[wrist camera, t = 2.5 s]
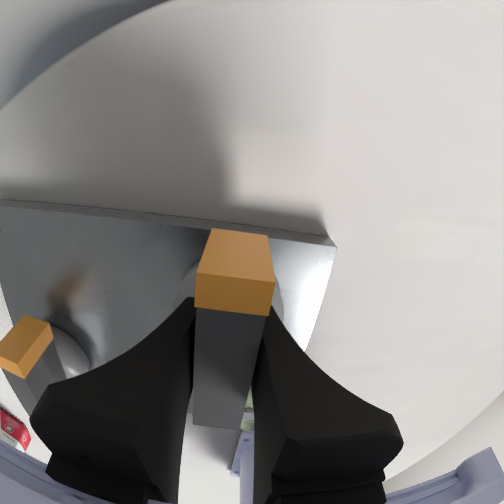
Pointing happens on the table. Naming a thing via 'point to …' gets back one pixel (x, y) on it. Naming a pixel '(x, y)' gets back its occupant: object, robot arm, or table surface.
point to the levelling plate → (134, 273)
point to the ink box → (13, 432)
